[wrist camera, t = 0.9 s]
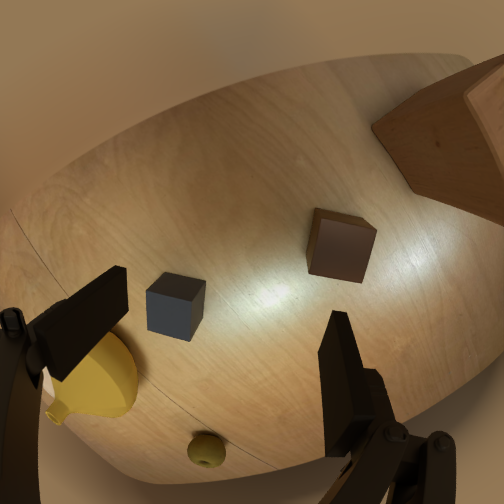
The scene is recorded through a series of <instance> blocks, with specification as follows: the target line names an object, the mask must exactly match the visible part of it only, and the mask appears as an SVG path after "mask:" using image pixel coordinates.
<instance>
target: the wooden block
mask: <svg viewBox="0 0 504 504" xmlns="http://www.w3.org/2000/svg"><path fill="white" fill-rule="evenodd" d="M372 130H373V132H374V133H375V134H376V136H377V137H378V138H379V140H380V141H381V142H382V144H383V145H384V147H385V148H386V150H387V151H388V152H389V154H390V155H391V157H392V158H393V160H394V161H395V163H396V164H397V166H398V167H399V169H400V171H401V172H402V174H403V175H404V177H405V178H406V180H407V182H408V183H409V185H410V187H411V188H412V190H413V192H414V193H415V194H418V195H421V196H424V197H427V198H430V199H433V200H436V201H439V202H442V203H445V204H448V205H451V206H453V207H456V208H459V209H461V210H464V211H467V212H469V213H472V214H475V215H477V216H480V217H482V218H485V219H487V220H489V221H492V222H494V223H496V224H499V225H501V226H503V227H504V54H502V55H500V56H497V57H495V58H492V59H490V60H487V61H484V62H482V63H479V64H477V65H475V66H472V67H470V68H467V69H465V70H463V71H460V72H458V73H456V74H454V75H451V76H449V77H447V78H445V79H443V80H440V81H438V82H436V83H434V84H432V85H430V86H428V87H425V88H423V89H421V90H420V91H418V92H417V93H416V94H414V95H413V96H411V97H410V98H409V99H407V100H406V101H404V102H403V103H402V104H400V105H399V106H398V107H396V108H395V109H393V110H392V111H391V112H389V113H388V114H387V115H385V116H384V117H383V118H381V119H380V120H379V121H377V122H376V123H375V124H373V126H372Z"/></svg>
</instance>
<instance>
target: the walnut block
mask: <svg viewBox="0 0 504 504" xmlns="http://www.w3.org/2000/svg"><path fill="white" fill-rule="evenodd" d="M376 233H377V230H376V229H375V228H374V227H373V226H372V225H370V224H369V223H368V222H367V221H366V220H364V219H363V218H360V217H356V216H351V215H347V214H342V213H338V212H333V211H328V210H323V209H318V208H316V209H315V213H314V218H313V223H312V228H311V233H310V237H309V242H308V247H307V251H306V260H307V267H308V273H309V274H311V275H317V276H322V277H328V278H333V279H339V280H344V281H350V282H356V283H362V282H363V279H364V275H365V272H366V269H367V265H368V262H369V258H370V255H371V251H372V248H373V244H374V240H375V237H376Z"/></svg>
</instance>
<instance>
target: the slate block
mask: <svg viewBox="0 0 504 504" xmlns="http://www.w3.org/2000/svg"><path fill="white" fill-rule="evenodd" d="M205 286H206V281H204V280H199V279H195V278H190V277H185V276H181V275H176V274H172V273H167V272H165V273H164V274H162V275H161V276H160V277H159V278H158V279H157V280H156V281H155V282H154V283H153V284H152V285H151V286H150V287H149V288H148V289H147V290H146V311H147V330H149V331H152V332H156V333H159V334H163V335H166V336H170V337H173V338H177V339H181V340H185V341H188V342H190V341H191V339H192V337H193V335H194V333H195V332H196V330H197V328H198V326H199V324H200V322H201V320H202V319H203V310H204V298H205Z"/></svg>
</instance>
